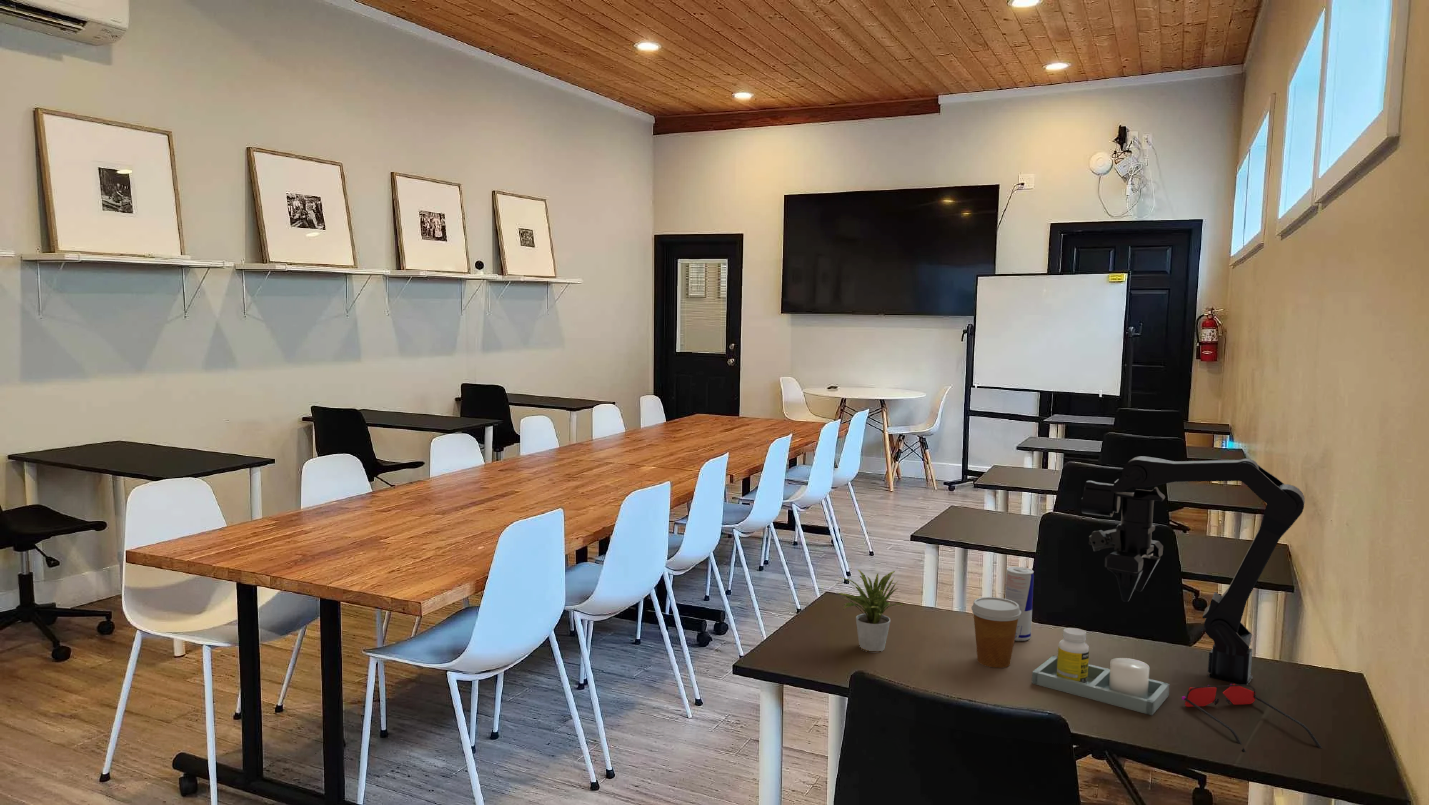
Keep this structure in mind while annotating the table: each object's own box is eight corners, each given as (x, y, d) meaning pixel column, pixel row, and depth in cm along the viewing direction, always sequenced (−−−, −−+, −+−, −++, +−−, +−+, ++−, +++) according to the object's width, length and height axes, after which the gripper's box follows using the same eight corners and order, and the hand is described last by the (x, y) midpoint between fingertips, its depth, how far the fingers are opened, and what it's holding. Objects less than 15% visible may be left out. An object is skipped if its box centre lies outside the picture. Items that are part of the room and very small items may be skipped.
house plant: (858, 629, 205) (860, 556, 203) (917, 643, 197) (920, 567, 195) (826, 647, 193) (828, 570, 192) (887, 663, 185) (890, 582, 184)
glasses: (1251, 707, 168) (1253, 680, 167) (1322, 750, 151) (1325, 721, 151) (1179, 711, 166) (1181, 684, 165) (1243, 755, 149) (1245, 725, 149)
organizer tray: (1168, 699, 169) (1169, 683, 169) (1151, 719, 161) (1152, 702, 161) (1052, 670, 183) (1053, 655, 182) (1031, 687, 174) (1032, 671, 174)
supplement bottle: (1084, 690, 171) (1086, 638, 170) (1053, 683, 174) (1055, 632, 173) (1089, 680, 176) (1092, 629, 175) (1059, 674, 179) (1062, 624, 178)
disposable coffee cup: (966, 666, 184) (968, 607, 183) (972, 650, 193) (974, 594, 192) (1016, 674, 181) (1019, 613, 179) (1020, 657, 189) (1023, 600, 188)
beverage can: (1032, 643, 198) (1035, 573, 196) (1004, 641, 199) (1007, 572, 197) (1029, 634, 203) (1032, 566, 202) (1002, 632, 204) (1005, 565, 203)
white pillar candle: (1151, 696, 169) (1153, 663, 168) (1141, 707, 164) (1143, 674, 164) (1114, 686, 173) (1116, 655, 173) (1103, 697, 168) (1105, 665, 168)
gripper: (1109, 507, 199) (1105, 578, 200) (1079, 521, 185) (1075, 598, 186) (1165, 514, 192) (1161, 589, 193) (1139, 530, 177) (1134, 610, 179)
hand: (1132, 596), depth 188 cm, fingers open, 9 cm apart
